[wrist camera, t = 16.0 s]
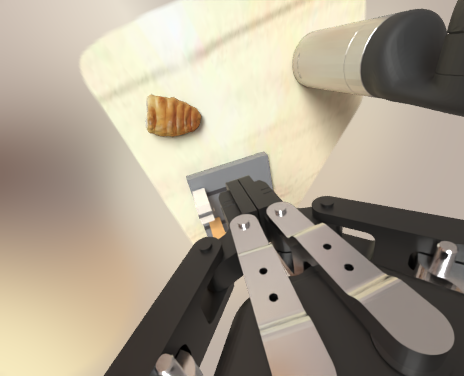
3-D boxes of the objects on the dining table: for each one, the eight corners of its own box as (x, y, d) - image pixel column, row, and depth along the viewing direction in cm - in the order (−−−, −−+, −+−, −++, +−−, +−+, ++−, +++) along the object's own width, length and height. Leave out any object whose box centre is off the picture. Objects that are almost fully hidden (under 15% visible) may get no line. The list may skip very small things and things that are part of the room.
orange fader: (219, 216, 51) (226, 235, 46) (223, 230, 53) (230, 249, 48) (208, 220, 51) (213, 239, 45) (212, 234, 53) (218, 253, 47)
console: (263, 151, 49) (267, 154, 48) (273, 209, 57) (276, 214, 55) (186, 176, 47) (187, 180, 46) (206, 232, 55) (208, 238, 53)
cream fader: (204, 187, 47) (209, 204, 41) (209, 203, 49) (215, 221, 43) (191, 191, 47) (195, 208, 41) (197, 207, 49) (202, 226, 43)
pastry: (201, 99, 42) (204, 102, 39) (198, 136, 45) (201, 142, 42) (145, 93, 39) (143, 95, 36) (146, 133, 42) (144, 139, 39)
